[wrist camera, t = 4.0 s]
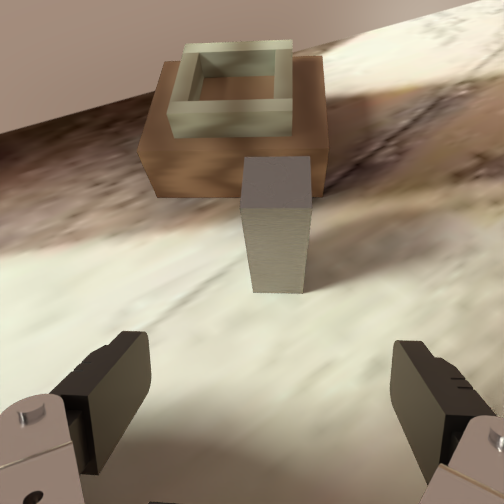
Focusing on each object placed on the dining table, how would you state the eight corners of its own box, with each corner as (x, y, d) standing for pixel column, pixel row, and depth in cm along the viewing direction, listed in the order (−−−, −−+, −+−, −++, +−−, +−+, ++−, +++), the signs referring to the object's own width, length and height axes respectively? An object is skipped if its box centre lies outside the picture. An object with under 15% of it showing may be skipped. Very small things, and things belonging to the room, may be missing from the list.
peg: (253, 292, 30) (239, 208, 20) (255, 250, 32) (244, 156, 22) (302, 293, 29) (312, 208, 20) (301, 251, 31) (310, 156, 22)
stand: (157, 197, 36) (125, 127, 29) (178, 111, 43) (157, 36, 35) (322, 197, 34) (333, 122, 27) (317, 107, 41) (324, 29, 34)
